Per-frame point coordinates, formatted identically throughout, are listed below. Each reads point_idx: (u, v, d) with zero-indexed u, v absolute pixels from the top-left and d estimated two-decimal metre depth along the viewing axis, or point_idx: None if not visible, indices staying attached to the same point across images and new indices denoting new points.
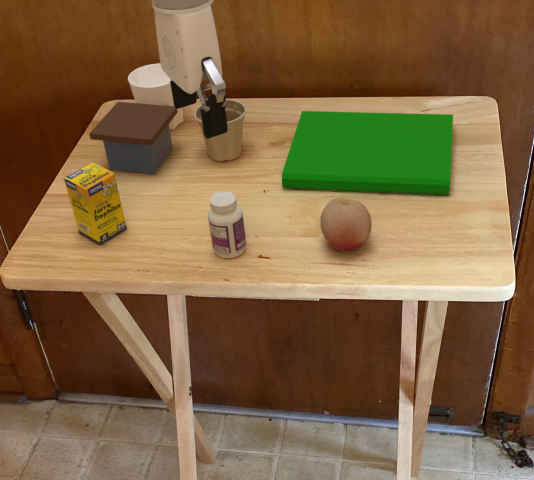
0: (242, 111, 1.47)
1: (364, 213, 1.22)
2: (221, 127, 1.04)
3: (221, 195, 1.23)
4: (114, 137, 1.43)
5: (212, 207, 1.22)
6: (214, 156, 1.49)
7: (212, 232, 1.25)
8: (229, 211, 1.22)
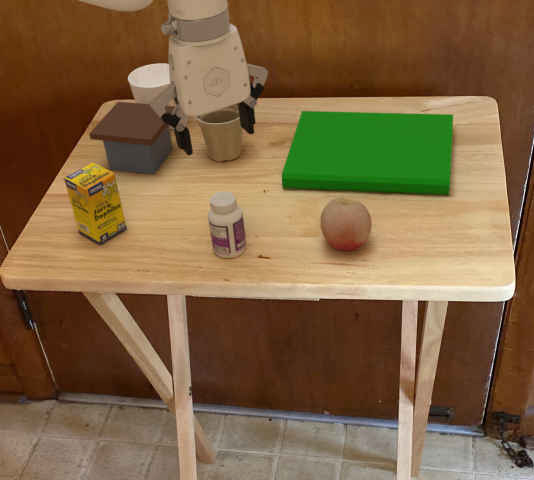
0: None
1: (364, 213, 1.22)
2: None
3: (221, 195, 1.23)
4: (114, 137, 1.43)
5: (212, 207, 1.22)
6: (214, 156, 1.49)
7: (212, 232, 1.25)
8: (229, 211, 1.22)
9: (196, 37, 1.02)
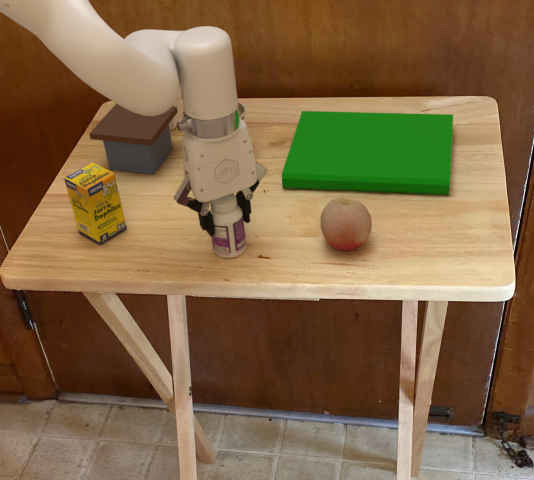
0: (242, 111, 1.47)
1: (364, 213, 1.22)
2: None
3: None
4: (114, 137, 1.43)
5: (212, 207, 1.22)
6: None
7: None
8: (229, 211, 1.22)
9: (209, 134, 1.11)
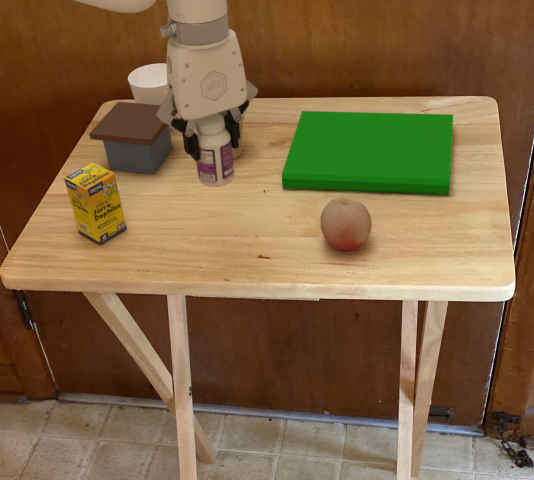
0: None
1: (364, 213, 1.22)
2: None
3: (208, 116, 1.15)
4: (114, 137, 1.43)
5: (198, 128, 1.14)
6: None
7: None
8: (216, 133, 1.14)
9: (195, 41, 1.03)
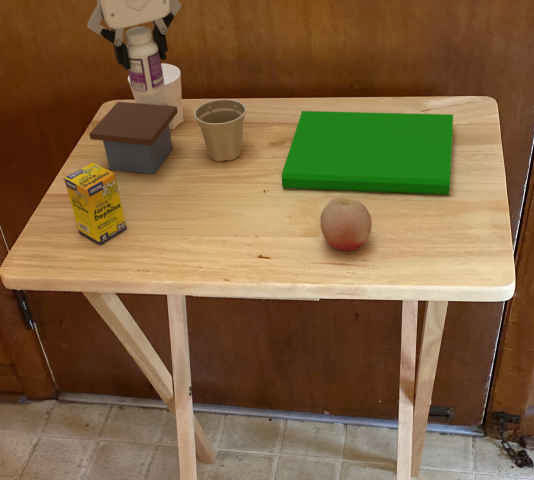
0: (242, 111, 1.47)
1: (364, 213, 1.22)
2: None
3: (137, 29, 1.26)
4: (114, 137, 1.43)
5: (127, 39, 1.25)
6: (214, 156, 1.49)
7: None
8: (143, 43, 1.25)
9: None
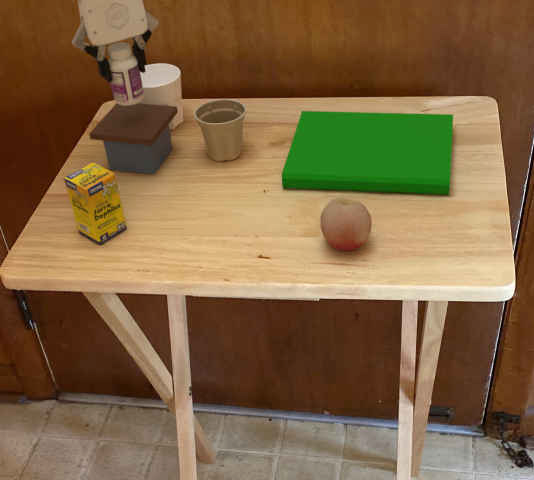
0: (242, 111, 1.47)
1: (364, 213, 1.22)
2: None
3: (118, 44, 1.38)
4: (114, 137, 1.43)
5: (109, 54, 1.37)
6: (214, 156, 1.49)
7: None
8: (124, 58, 1.37)
9: None
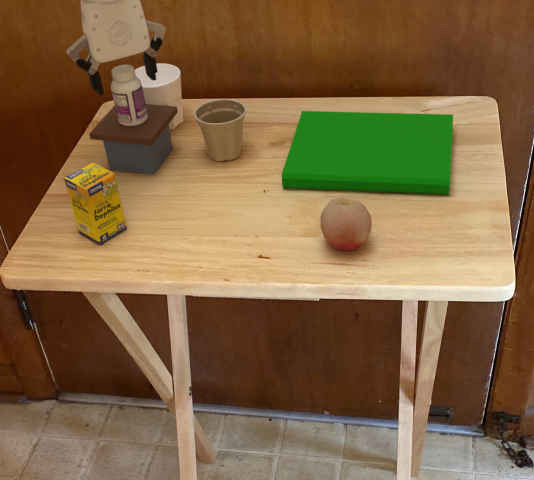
0: (242, 111, 1.47)
1: (364, 213, 1.22)
2: None
3: (122, 67, 1.40)
4: (114, 137, 1.43)
5: (113, 77, 1.39)
6: (214, 156, 1.49)
7: (115, 101, 1.42)
8: (128, 80, 1.39)
9: None
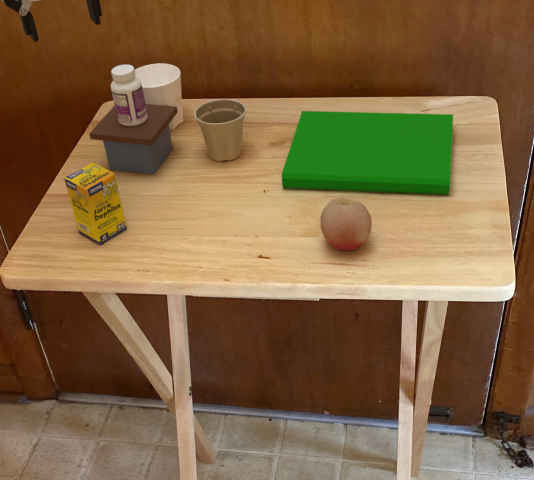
0: (242, 111, 1.47)
1: (364, 213, 1.22)
2: None
3: (122, 67, 1.40)
4: (114, 137, 1.43)
5: (113, 77, 1.39)
6: (214, 156, 1.49)
7: (115, 101, 1.42)
8: (128, 80, 1.39)
9: None
